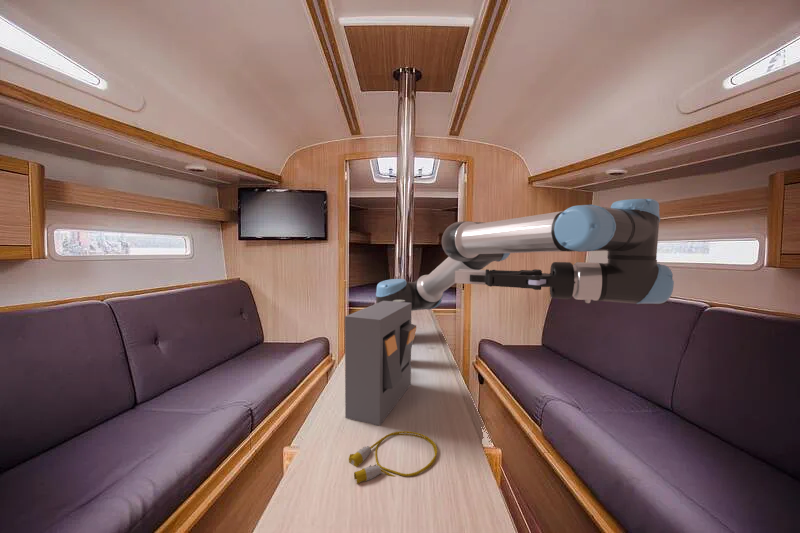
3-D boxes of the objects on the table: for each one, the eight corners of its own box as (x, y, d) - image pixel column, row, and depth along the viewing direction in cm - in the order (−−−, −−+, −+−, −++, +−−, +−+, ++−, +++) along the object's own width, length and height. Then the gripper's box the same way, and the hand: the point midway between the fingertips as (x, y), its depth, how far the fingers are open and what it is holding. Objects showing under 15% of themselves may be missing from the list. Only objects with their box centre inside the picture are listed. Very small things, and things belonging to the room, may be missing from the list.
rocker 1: (394, 377, 70) (386, 334, 70) (403, 377, 69) (395, 333, 69) (383, 388, 64) (374, 341, 65) (393, 388, 64) (384, 340, 64)
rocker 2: (401, 359, 80) (409, 323, 79) (409, 362, 79) (417, 325, 78) (392, 367, 74) (400, 329, 73) (401, 371, 74) (409, 331, 72)
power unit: (383, 379, 85) (383, 300, 83) (410, 384, 82) (411, 302, 80) (345, 417, 66) (345, 316, 64) (379, 425, 63) (379, 319, 62)
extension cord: (350, 439, 60) (350, 429, 59) (430, 434, 61) (430, 424, 61) (346, 488, 47) (346, 476, 47) (446, 480, 49) (446, 468, 49)
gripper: (579, 306, 55) (449, 297, 63) (565, 293, 71) (462, 287, 79) (581, 264, 54) (450, 261, 63) (566, 260, 70) (463, 258, 78)
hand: (457, 276), depth 71 cm, fingers open, 4 cm apart
